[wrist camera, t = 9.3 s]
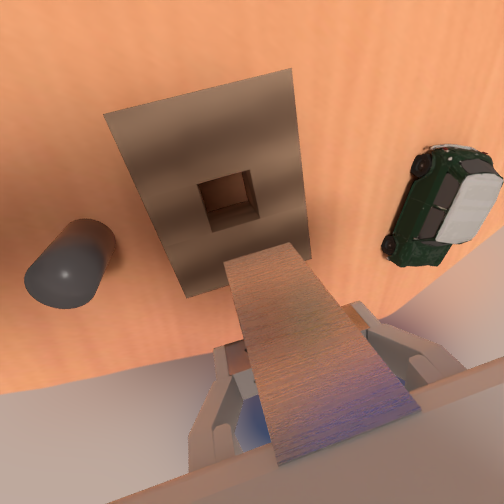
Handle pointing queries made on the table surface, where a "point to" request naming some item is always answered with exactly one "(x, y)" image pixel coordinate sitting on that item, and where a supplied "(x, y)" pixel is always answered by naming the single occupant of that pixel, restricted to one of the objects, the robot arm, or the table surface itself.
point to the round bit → (71, 265)
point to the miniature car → (443, 205)
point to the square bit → (309, 357)
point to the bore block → (218, 173)
